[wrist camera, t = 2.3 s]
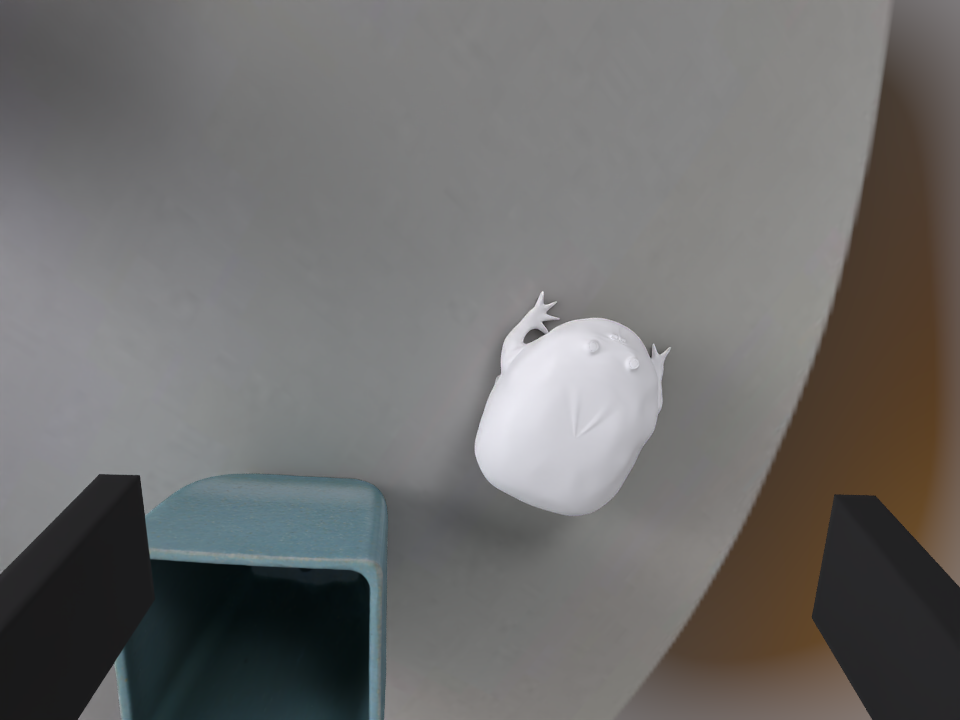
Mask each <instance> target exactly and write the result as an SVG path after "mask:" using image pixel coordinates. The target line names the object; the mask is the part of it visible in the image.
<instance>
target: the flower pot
mask: <svg viewBox="0 0 960 720" xmlns="http://www.w3.org/2000/svg"><path fill="white" fill-rule="evenodd" d="M145 521H146V529H147V537H148V546H149V554H150V562H151V570H152V578H153V586H154V594H155V600H154V602H153V603H152V605H151V606H150V608H149V610H148V611H147V613H146V614H145V616H144V617H143V619H142V620H141V622H140V624H139V625H138V627H137V628H136V630H135V631H134V633H133V634H132V636H131V638H130V639H129V641H128V642H127V644H126V645H125V647H124V648H123V650H122V651H121V653H120V655H119V656H118V658H117V659H116V661H115V662H114V665H115V671H116V679H117V686H118V694H119V705H120V714H121V720H384V708H385V687H386V609H387V536H388V513H387V505H386V501H385V499H384V496H383V495H382V493H381V492H380V490H379V489H378V488H376V487H375V486H374V485H372V484H370V483H368V482H366V481H362V480H358V479H347V478H328V477H304V476H288V475H273V474H228V475H220V476H215V477H210V478H206V479H203V480H199V481H196V482H194V483H192V484H189V485H187V486H185V487H183V488H181V489H180V490H178V491H177V492H175V493H174V494H172V495H171V496H169V497H168V498H167V499H166V500H164V501H163V502H162V503H160V504H159V505H158V506H157V507H155V508H154V509H153V510H152V511H150V512H149V513H148V514H147V515H145Z"/></svg>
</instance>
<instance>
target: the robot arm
mask: <svg viewBox="0 0 960 720" xmlns="http://www.w3.org/2000/svg"><path fill="white" fill-rule="evenodd" d="M154 600H155V594H154V586H153V578H152V570H151V562H150V554H149V546H148V537H147V529H146V521H145V513H144V505H143V497H142V489H141V481H140V475H108V474H99V475H98V476H97V477H96V478H95V479H94V480H93V481H92V482H91V483H90V484H89V485H88V486H87V487H86V488H85V489H84V490H83V491H82V492H81V493H80V494H79V495H78V496H77V498H76V499H75V500H74V501H73V502H72V503H71V504H70V505H69V506H68V507H67V508H66V509H65V510H64V511H63V512H62V513H61V514H60V515H59V516H58V517H57V518H56V519H55V520H54V521H53V522H52V523H51V524H50V525H49V526H48V527H47V528H46V529H45V530H44V531H43V532H42V533H41V534H40V535H39V536H38V537H37V538H36V539H35V540H34V541H33V542H32V543H31V544H30V545H29V546H28V547H27V548H26V549H25V550H24V551H23V552H22V553H21V554H20V555H19V556H18V557H17V558H16V559H15V560H14V561H13V562H12V563H11V564H10V565H9V566H8V567H7V568H6V569H5V570H4V571H3V572H2V573H1V574H0V720H78V718H79V717H80V715H81V713H82V712H83V710H84V709H85V707H86V706H87V704H88V703H89V701H90V700H91V698H92V696H93V695H94V693H95V692H96V690H97V689H98V687H99V686H100V684H101V682H102V681H103V679H104V678H105V676H106V675H107V673H108V672H109V670H110V669H111V667H112V665H113V664H114V662H115V661H116V659H117V658H118V656H119V655H120V653H121V651H122V650H123V648H124V647H125V645H126V644H127V642H128V641H129V639H130V638H131V636H132V634H133V633H134V631H135V630H136V628H137V627H138V625H139V624H140V622H141V620H142V619H143V617H144V616H145V614H146V613H147V611H148V610H149V608H150V606H151V605H152V603H153V602H154ZM812 619H813V621H814V622H815V624H816V626H817V627H818V629H819V631H820V632H821V634H822V636H823V638H824V639H825V641H826V642H827V644H828V646H829V648H830V649H831V651H832V653H833V654H834V656H835V658H836V659H837V661H838V663H839V664H840V666H841V668H842V669H843V671H844V673H845V675H846V676H847V678H848V680H849V681H850V683H851V685H852V686H853V688H854V690H855V691H856V693H857V695H858V696H859V698H860V700H861V701H862V703H863V705H864V706H865V708H866V710H867V712H868V713H869V715H870V716H871V718H872V720H960V587H959V586H958V585H957V584H956V583H955V582H954V581H953V580H952V579H951V578H950V576H949V575H948V574H947V573H946V572H945V571H944V570H943V569H942V568H941V567H940V566H939V564H938V563H937V562H936V561H935V560H934V559H933V558H932V557H931V556H930V555H929V553H928V552H927V551H926V550H925V549H924V548H923V547H922V546H921V545H920V544H919V543H918V542H917V540H916V539H915V538H914V537H913V536H912V535H911V534H910V533H909V532H908V531H907V530H906V529H905V527H904V526H903V525H902V524H901V523H900V522H899V521H898V520H897V519H896V518H895V517H894V516H893V514H892V513H891V512H890V511H889V510H888V509H887V508H886V507H885V506H884V505H883V504H882V503H881V502H880V500H879V499H878V498H877V497H876V496H868V495H834V501H833V506H832V511H831V517H830V522H829V528H828V533H827V539H826V544H825V549H824V555H823V560H822V566H821V571H820V576H819V582H818V587H817V592H816V598H815V603H814V609H813V614H812Z"/></svg>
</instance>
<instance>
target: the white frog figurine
mask: <svg viewBox="0 0 960 720" xmlns="http://www.w3.org/2000/svg"><path fill="white" fill-rule="evenodd" d="M543 297H544V292H543V291H542V292H541V294H540V296H539V298H538V300H537V303H536V305H535V306H534V308H533V309H531V310H530V311H529V312H528V313H527V314H526V315H525V317H524V318H523V319H522V320H521V322H520V323H519V324H518V325H516V326H515V327H514V328H513V329H512V331H511V332H510V333H509V334H508V335H507V337H506V338H505V340H504V343H503V348H502V354H501V375H498V376H497V378H496V381H495V385H494V387H493V389H492V391H491V393H490V395H489V398H488V400H487V403H486V405H485V409H484V413H483V415H482V418H481V421H480V424H479V429H478V432H477V436H476V440H475V455H476V459H477V462H478V464H479V467H480V469H481V471H482V473H483V474H484V476H485V478H486V479H487V480H488V481H489V482H490V483H491V484H492V485H493V486H495V487H496V488H498V489H499V490H501V491H503V492H505V493H507V494H509V495H510V496H512V497H514V498H516V499H518V500H520V501H522V502H524V503H527V504H529V505H532V506H534V507H537V508H540V509H544V510H547V511H551V512H554V513H558V514H562V515H567V516H581V515H586V514H589V513H592V512H594V511H596V510H598V509H599V508H601V507H602V506H604V505H605V504H606V503H608V502H609V501H610V500H611V499H612V498H613V497H614V496H615V495H616V493H617V492H618V491H619V489H620V488H621V486H622V484H623V483H624V481H625V479H626V478H627V476H628V474H629V473H630V471H631V469H632V468H633V466H634V464H635V462H636V460H637V457H638V455H639V453H640V451H641V449H642V447H643V446H644V444H645V443H646V442H647V441H648V439H649V438H650V437H651V435H652V434H653V432H654V429H655V426H656V422H657V415H658V414H659V412H660V410H661V408H662V403H663V398H662V386H661V381H662V376H663V371H664V367H663V363H664V360H665V358H666V356H667V355H668V353H669V351H670V349H671V347H669V348H668V349H667V350H665V351H664V352H663V353H662V354H658V352H657V350H656V347H655V345H654V344H653V345H652V357H651V358H650V356H649V354H648V352H647V350H646V348H645V346H644V344H643V342H642V341H641V339H640V338H639V337H638V336H637V335H636V334H635V333H634V332H633V331H632V330H630V329H629V328H627V327H626V326H624V325H622V324H620V323H618V322H615V321H612V320H609V319H605V318H587V319H578V320H573V321H569V322H566V323H564V324H562V325H560V326H558V327H556V328H554V329H553V330H551V331H550V332H549V333H548V330H547V328H546V327H545V326H544V325H543V323H542V322H543V321H550V320H559V319H560V318H557V317H553V316H550V315H548V314H547V313H546V312H547V311H548V310H549V309H550V308H551V307H553V306H554V305H555V304H556V303H557V301H555V302H553V303H550V304H547V305H545V304H544V303H543ZM532 329H538V330H540V331H542V332H543V333H545V335H543V336H542V337H540V338H538V339H536V340H535V341H533V342H530V343H528V344H524V342H523V340H524V337H525V335H526V334H527V333H528V332H529V331H530V330H532Z"/></svg>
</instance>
